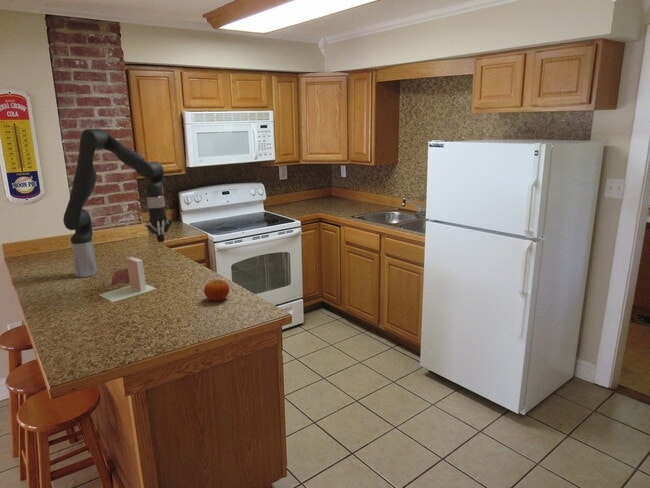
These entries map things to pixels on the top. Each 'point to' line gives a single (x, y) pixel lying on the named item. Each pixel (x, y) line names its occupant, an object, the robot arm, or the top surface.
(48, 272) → the top surface
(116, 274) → the wooden tablet
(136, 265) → the white rectangular block
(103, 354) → the top surface
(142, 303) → the top surface
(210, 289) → the fruit
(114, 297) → the cutting board
